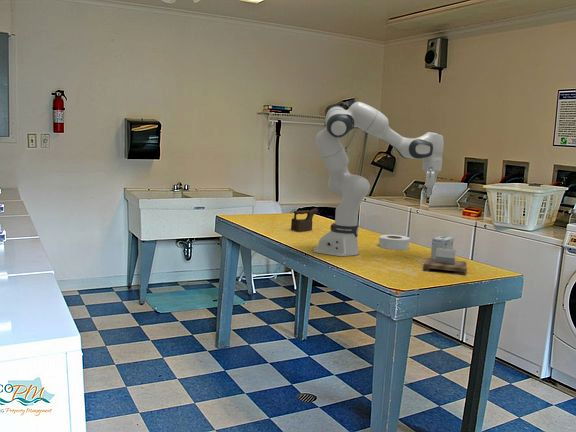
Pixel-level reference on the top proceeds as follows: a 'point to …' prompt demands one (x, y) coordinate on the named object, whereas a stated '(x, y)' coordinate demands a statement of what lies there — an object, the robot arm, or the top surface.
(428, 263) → the stand
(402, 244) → the roll of tape
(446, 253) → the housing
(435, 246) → the light bulb box
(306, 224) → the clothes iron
